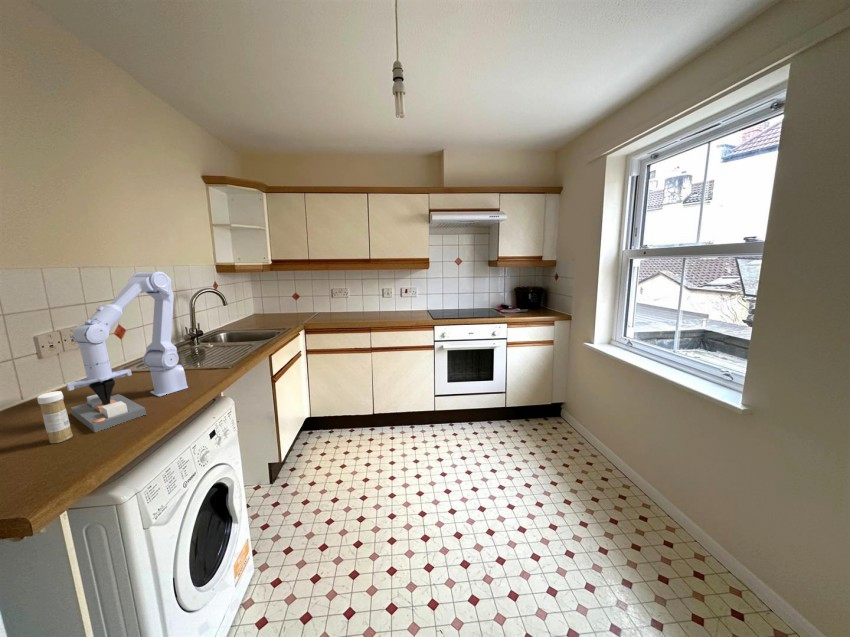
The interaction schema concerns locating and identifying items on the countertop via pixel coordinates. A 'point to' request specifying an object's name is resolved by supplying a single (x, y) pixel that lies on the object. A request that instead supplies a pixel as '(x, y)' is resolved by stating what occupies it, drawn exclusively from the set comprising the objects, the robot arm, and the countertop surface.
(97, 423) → the console
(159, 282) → the robot arm
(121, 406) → the off-white button
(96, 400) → the grey button
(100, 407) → the terracotta button
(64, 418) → the spice jar
